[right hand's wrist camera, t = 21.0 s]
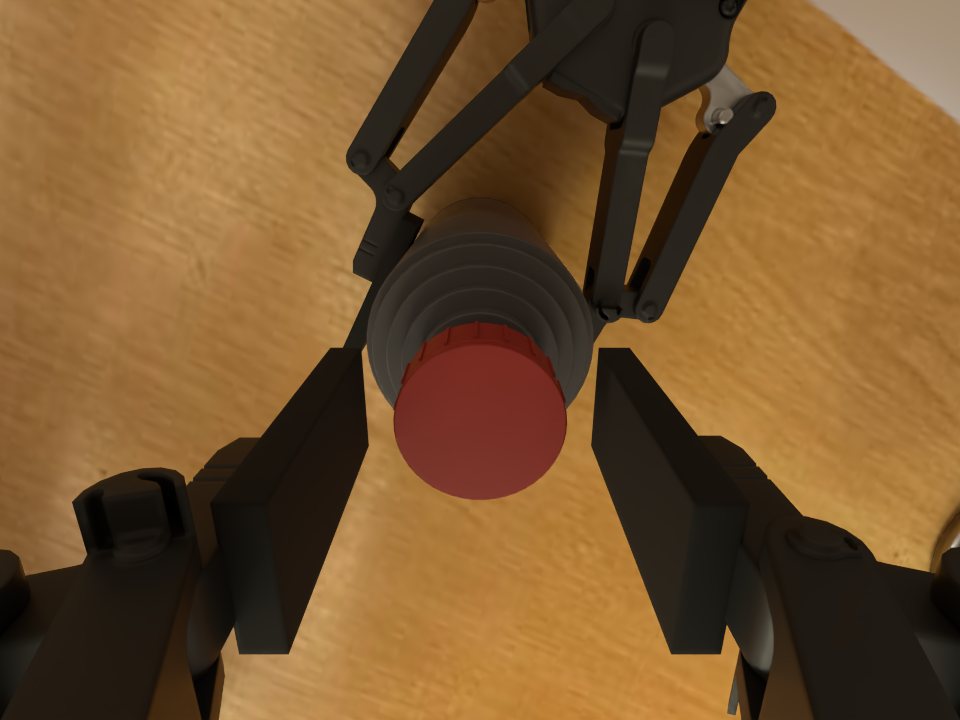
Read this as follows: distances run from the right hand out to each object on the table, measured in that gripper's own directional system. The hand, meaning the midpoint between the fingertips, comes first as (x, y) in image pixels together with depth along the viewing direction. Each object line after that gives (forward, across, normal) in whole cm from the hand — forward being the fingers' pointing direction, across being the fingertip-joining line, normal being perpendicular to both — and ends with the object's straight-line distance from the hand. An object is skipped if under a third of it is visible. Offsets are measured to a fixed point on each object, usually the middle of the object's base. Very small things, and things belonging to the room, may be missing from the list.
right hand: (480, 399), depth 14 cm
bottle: (+18, 0, 0) cm, 18 cm away
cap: (-1, 0, 0) cm, 1 cm away
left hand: (+12, +2, +4) cm, 13 cm away
